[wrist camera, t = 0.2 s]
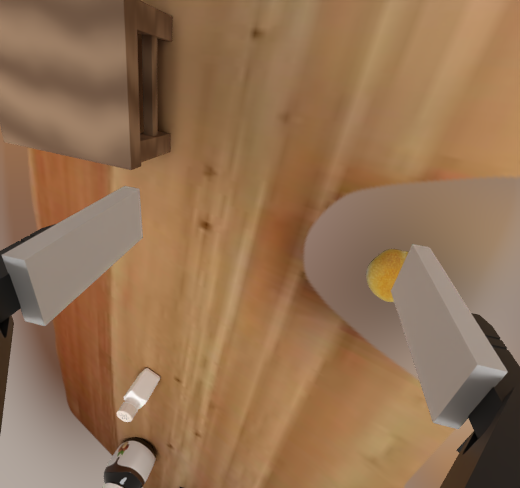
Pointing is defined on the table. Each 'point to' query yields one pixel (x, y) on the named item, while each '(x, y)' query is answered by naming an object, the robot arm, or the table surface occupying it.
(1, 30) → the stool
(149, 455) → the spread jar
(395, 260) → the bread roll
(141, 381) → the salt shaker
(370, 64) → the table surface
